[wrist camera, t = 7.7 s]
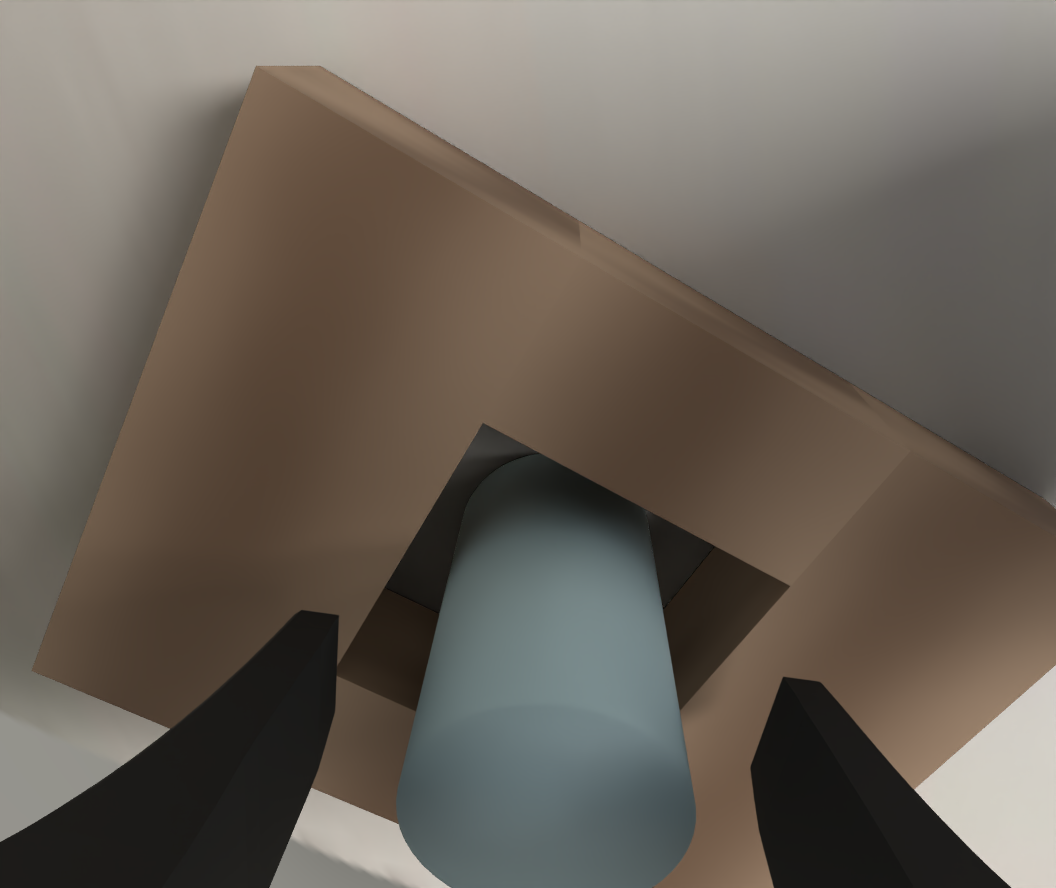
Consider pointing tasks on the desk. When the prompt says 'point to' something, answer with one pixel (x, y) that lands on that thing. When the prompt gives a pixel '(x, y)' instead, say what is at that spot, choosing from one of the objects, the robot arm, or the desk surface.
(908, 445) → the socket board
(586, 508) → the peg
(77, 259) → the desk surface
